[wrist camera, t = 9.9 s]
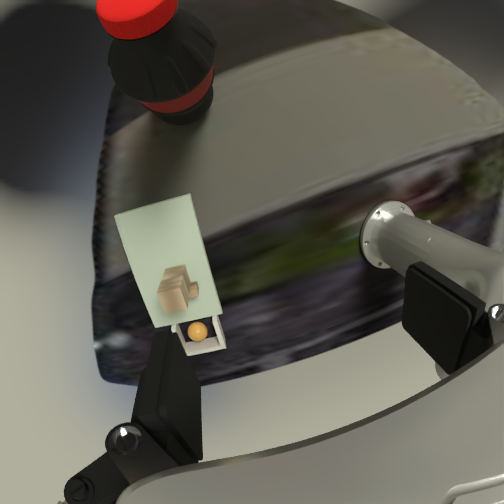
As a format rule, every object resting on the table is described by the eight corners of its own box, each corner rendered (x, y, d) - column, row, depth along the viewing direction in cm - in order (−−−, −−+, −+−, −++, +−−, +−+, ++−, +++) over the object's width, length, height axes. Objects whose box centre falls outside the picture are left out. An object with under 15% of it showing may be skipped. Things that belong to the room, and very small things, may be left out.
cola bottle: (185, 63, 33) (150, -75, 5) (225, 98, 36) (260, -16, 8) (143, 102, 34) (28, 23, 6) (183, 138, 37) (115, 100, 9)
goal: (216, 311, 47) (217, 321, 44) (225, 338, 49) (226, 348, 47) (172, 321, 47) (170, 330, 44) (183, 346, 49) (182, 357, 46)
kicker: (191, 262, 42) (187, 286, 35) (198, 287, 44) (197, 314, 36) (159, 270, 42) (149, 294, 34) (167, 294, 43) (161, 322, 36)
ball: (203, 316, 46) (205, 333, 44) (208, 326, 49) (210, 342, 46) (184, 320, 46) (185, 337, 44) (190, 330, 48) (191, 346, 46)
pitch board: (190, 193, 40) (189, 194, 39) (222, 309, 47) (222, 313, 46) (116, 214, 39) (114, 216, 38) (156, 323, 46) (155, 327, 45)
